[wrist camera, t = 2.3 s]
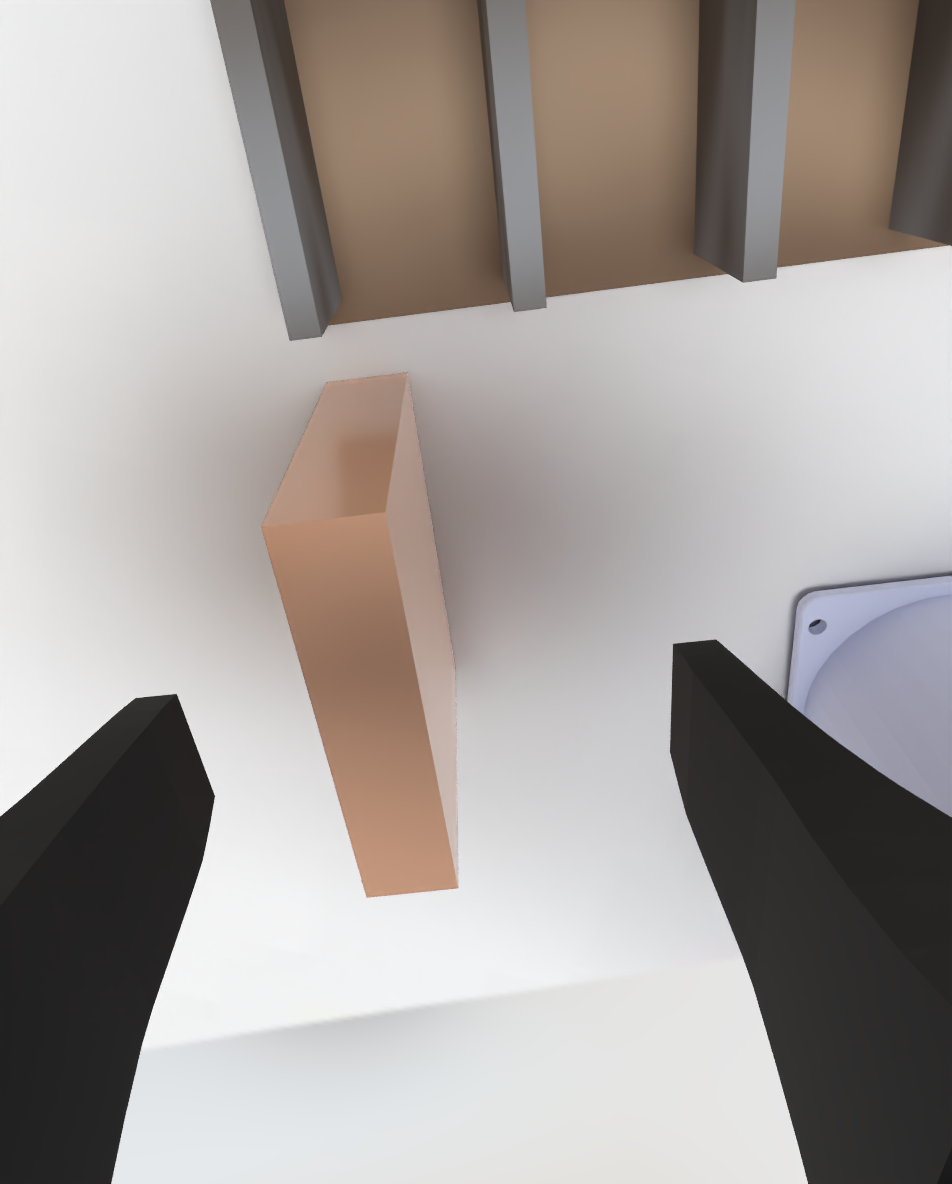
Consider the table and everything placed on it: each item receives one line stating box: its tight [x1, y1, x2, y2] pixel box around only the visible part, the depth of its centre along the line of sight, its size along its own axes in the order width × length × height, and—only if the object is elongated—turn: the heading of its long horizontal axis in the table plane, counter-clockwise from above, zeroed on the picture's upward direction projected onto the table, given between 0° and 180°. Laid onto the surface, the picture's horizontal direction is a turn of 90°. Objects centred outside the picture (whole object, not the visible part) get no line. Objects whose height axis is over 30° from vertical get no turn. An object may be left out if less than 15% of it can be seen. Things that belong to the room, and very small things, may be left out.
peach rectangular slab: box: [261, 372, 458, 898], centre depth 19 cm, size 9×2×8 cm, turn 7°
